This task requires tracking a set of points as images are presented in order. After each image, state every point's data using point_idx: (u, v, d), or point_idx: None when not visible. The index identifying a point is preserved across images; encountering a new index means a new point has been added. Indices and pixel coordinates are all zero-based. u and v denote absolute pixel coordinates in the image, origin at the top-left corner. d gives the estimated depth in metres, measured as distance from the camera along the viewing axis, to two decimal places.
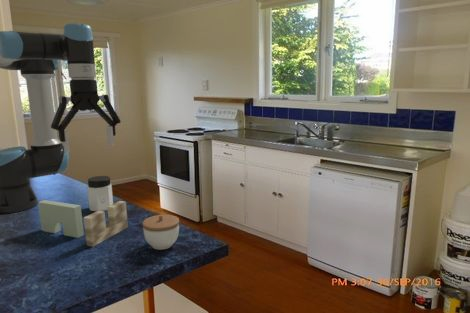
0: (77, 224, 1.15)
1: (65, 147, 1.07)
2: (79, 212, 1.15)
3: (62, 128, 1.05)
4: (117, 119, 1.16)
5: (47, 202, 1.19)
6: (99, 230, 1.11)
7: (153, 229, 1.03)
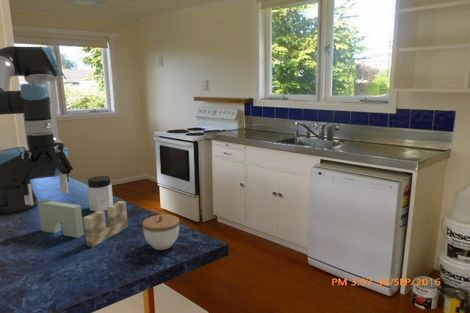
0: (77, 224, 1.15)
1: (28, 200, 1.12)
2: (79, 212, 1.15)
3: (26, 182, 1.10)
4: (70, 167, 1.25)
5: (47, 202, 1.19)
6: (99, 230, 1.11)
7: (153, 229, 1.03)
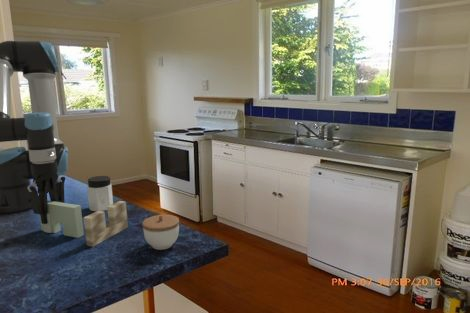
0: (77, 224, 1.15)
1: (47, 228, 1.19)
2: (79, 212, 1.15)
3: (45, 212, 1.17)
4: (63, 201, 1.23)
5: (47, 202, 1.19)
6: (99, 230, 1.11)
7: (153, 229, 1.03)
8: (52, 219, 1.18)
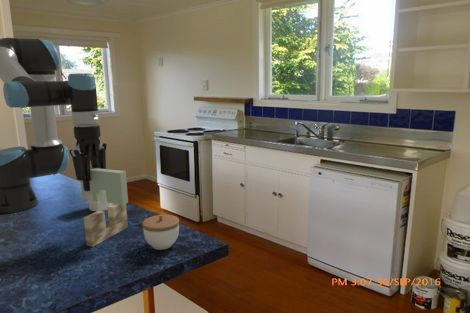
0: (122, 190, 1.09)
1: (89, 196, 1.13)
2: (124, 178, 1.10)
3: (88, 178, 1.11)
4: None
5: None
6: (99, 230, 1.11)
7: (153, 229, 1.03)
8: (95, 186, 1.13)
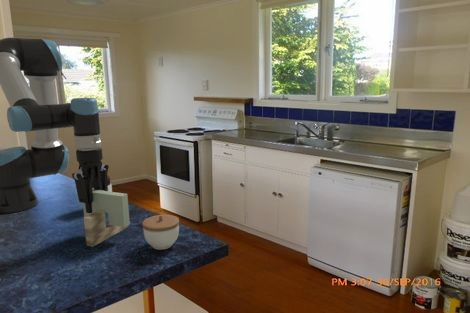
0: (124, 213, 1.11)
1: None
2: (126, 201, 1.11)
3: (90, 201, 1.13)
4: (106, 190, 1.19)
5: None
6: (99, 230, 1.11)
7: (153, 229, 1.03)
8: (97, 208, 1.14)
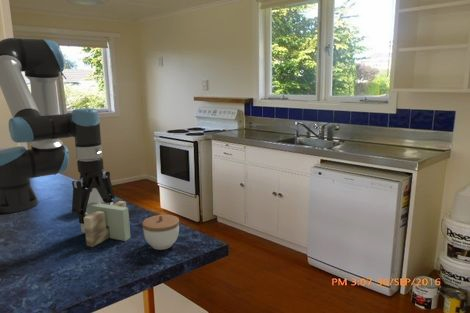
0: (125, 227, 1.12)
1: (84, 228, 1.13)
2: (127, 214, 1.13)
3: (84, 211, 1.11)
4: (112, 195, 1.22)
5: (92, 204, 1.16)
6: (99, 230, 1.11)
7: (153, 229, 1.03)
8: None
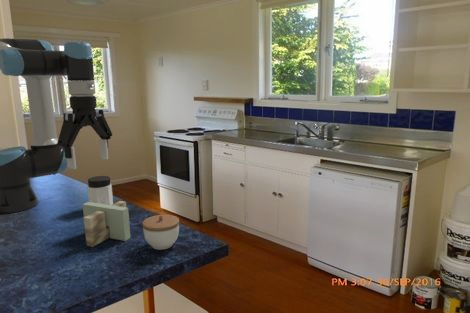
0: (125, 227, 1.12)
1: (71, 163, 1.08)
2: (126, 214, 1.13)
3: (70, 145, 1.06)
4: (110, 132, 1.21)
5: (92, 204, 1.16)
6: (99, 230, 1.11)
7: (153, 229, 1.03)
8: None
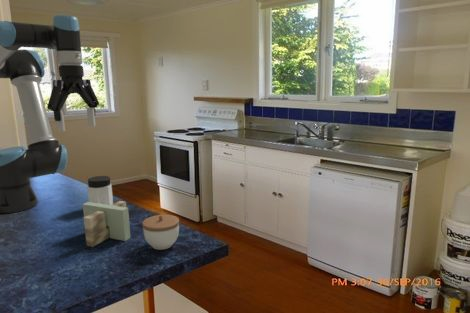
0: (125, 227, 1.12)
1: (60, 126, 1.19)
2: (127, 214, 1.13)
3: (59, 108, 1.17)
4: (97, 101, 1.32)
5: (92, 204, 1.16)
6: (99, 230, 1.11)
7: (153, 229, 1.03)
8: None
